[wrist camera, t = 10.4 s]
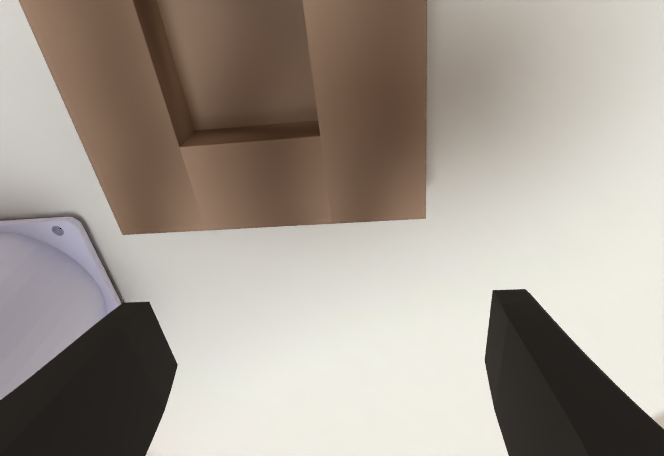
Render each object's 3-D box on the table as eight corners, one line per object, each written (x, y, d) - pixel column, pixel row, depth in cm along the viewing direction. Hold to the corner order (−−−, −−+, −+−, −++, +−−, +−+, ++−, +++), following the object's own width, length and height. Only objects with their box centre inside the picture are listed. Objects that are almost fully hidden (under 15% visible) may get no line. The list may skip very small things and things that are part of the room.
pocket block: (143, 209, 19) (122, 234, 18) (4, -141, 13) (-50, -153, 11) (420, 192, 18) (425, 218, 16) (419, -212, 12) (428, -237, 10)
